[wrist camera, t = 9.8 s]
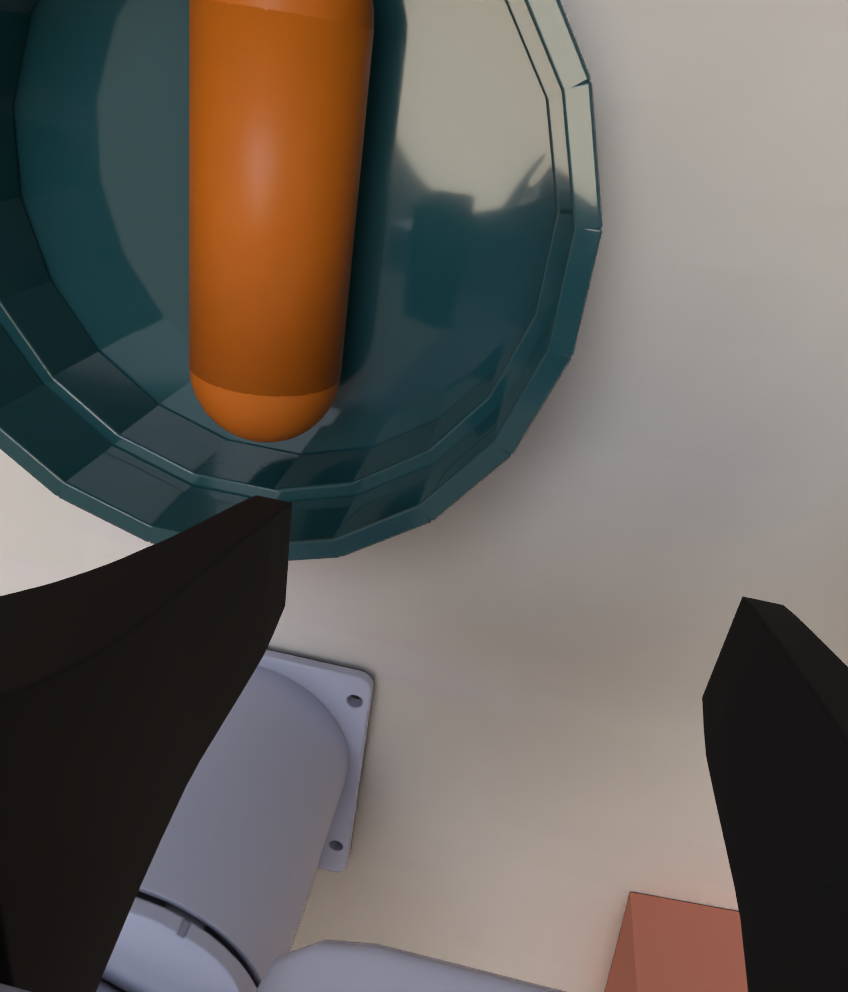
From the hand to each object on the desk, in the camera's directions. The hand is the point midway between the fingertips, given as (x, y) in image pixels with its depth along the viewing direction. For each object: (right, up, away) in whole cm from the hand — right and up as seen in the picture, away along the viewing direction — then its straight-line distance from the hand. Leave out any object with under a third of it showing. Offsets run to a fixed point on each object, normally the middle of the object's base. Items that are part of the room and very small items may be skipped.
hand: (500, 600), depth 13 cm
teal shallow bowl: (-5, +9, +7) cm, 12 cm away
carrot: (-5, +9, +6) cm, 12 cm away
